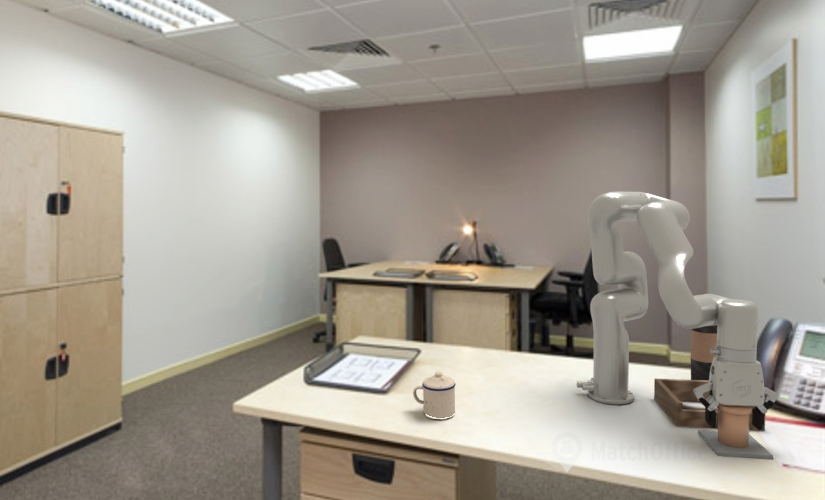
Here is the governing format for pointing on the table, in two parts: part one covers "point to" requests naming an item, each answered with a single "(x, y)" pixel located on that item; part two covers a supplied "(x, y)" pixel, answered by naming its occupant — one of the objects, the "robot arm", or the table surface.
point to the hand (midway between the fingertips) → (733, 426)
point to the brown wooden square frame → (682, 390)
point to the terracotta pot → (734, 425)
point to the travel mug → (702, 351)
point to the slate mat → (723, 450)
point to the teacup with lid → (437, 396)
